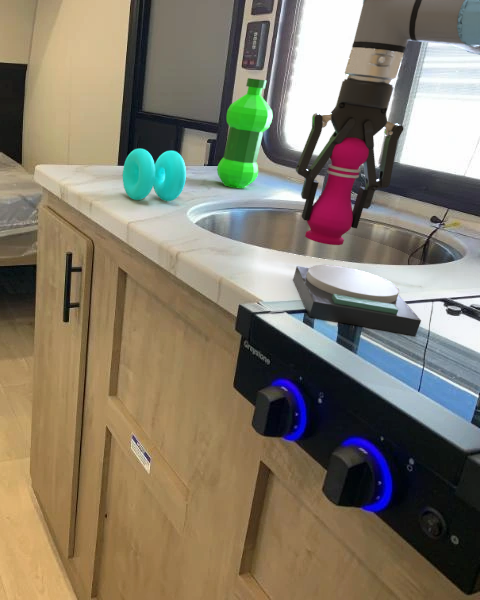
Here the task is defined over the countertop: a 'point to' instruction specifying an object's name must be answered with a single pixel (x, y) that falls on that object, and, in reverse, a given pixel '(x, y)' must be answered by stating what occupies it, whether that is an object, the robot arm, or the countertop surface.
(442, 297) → the countertop surface
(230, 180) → the plastic bottle
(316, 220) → the pepper mill
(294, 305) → the countertop surface
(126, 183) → the turquoise spool
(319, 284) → the kitchen scale
